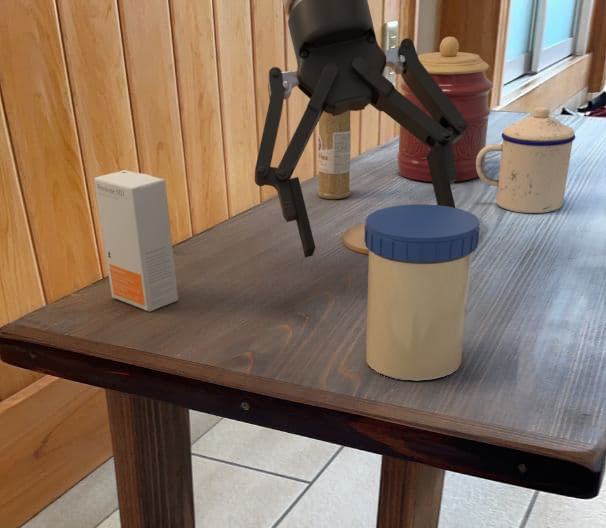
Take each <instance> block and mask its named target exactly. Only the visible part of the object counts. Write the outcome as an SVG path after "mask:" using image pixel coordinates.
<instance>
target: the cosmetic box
mask: <svg viewBox="0 0 606 528" xmlns="http://www.w3.org/2000/svg"><path fill="white" fill-rule="evenodd" d="M93 183H94V189H95V196H96V202H97V203H96V204H97V209H98V210H97V211H98V215H99V222H100V228H101V236H102V241H103V242H102V243H103V249H104V255H105V261H106V268H107V273H108V280H109V287H110V293H111V298H112V299H114V300H115V299H116V300H119V301H121V302H124V303H126V304H128V305H132V306H134V307H136V308H139V309H142V310H144V311H145V312H149V313H151V312H153V311H155V310H157V309H160V308H162V307H165V306H168V305H170V304H172V303H175V302H177V301H179V296H178V295H179V294H178V286H177V277H176V269H175V258H174V250H173V239H172V238H173V237H172V232H171V230H172V229H171V223H170V212H169V203H168V193H167V192H168V191H167V184H166V179H164V178H160V177H157V176H152V175H150V174H148V173H142V172H141V173H140V172H135V171H132V170H127V169H124V170H120V171H116V172H111V173H108V174H107V173H106V174H103V175H100V176H96V177H93Z"/></svg>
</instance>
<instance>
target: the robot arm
mask: <svg viewBox="0 0 606 528" xmlns="http://www.w3.org/2000/svg"><path fill="white" fill-rule="evenodd" d="M281 2H282V4H283V10H284V13H285V15H286V17H287V18H288V20H287V25H288V31H289V34H290V39H291V42H292V47H293V51H294V55H295V60H296V65H297V68H296V70H286V71H282V70H281V68H279V67H278V66H273V67H270V69H269V70H268V78H267V92H268V98H269V102H268V107H267V112H266V117H265V121H264V126H263V130H262V134H261V140H260V144H259V149H258V154H257V159H256V163H255V169H254V183H255V184H256V186H258V187H264V186H269V187H272V188H274V189H275V190H276V193H277V196H278V199H279V203H280V208H281V211H282V216H283V219H284V220H285V221H286V223H289V222H293V221H295V222H296V225H297V230H298V234H299V238H300V242H301V247H302V251H303V254H304V258H309V257H312V256H314V254H315V250H316V244H315V240H314V235H313V231H312V229H311V224H310V219H309V216H308V211H307V207H306V203H305V199H304V195H303V190H302V186H301V183H300V179H299V176H296V177H292V176H293V174H294V172H295V170H296V168H297V166H298V164H299V161H300V159H301V157H302V155H303V153H304V152H305V149H306V147H307V145H308V143H309V141H310V139H311V137H312V135H313V132H314V131H315V128H316V127H317V125H318V124H319V119H320V117H321V115H322V113H323V111H324V112H326V113H329V114H332V116H336V115H341V114H342V113H344V112H346V111H350V112H359V111H364V110H365V109H366V107H367V106H368V105H370V106H371V107H373V108H374V109H376V110H377V111H378V112H382V113H384V114H386V115H387V116H388V117H390V118H391V119H392V120H393V121H394V122H396V123H397V124H398V125H399V126H400V125H401V126H402V127H404V128H405V129H406V130H408V131H409V132H410V133H411V134H413V135H414V136H415V137H416V138H418V139H419V140H420V141H422V142H423V143H424V144H425V145H427V146H428V147H429V148H430V149H431V151H430V153H429V154H428V156H427V161H428V166H429V170H430V174H431V179H432V182H431V183H432V187H433V192H434V195H435V201H436V205H440V206H448V207H453V208H456V204H455V200H454V194H453V191H452V187H451V185H454V183H455V180H456V179H457V173H458V172H457V168H456V164H455V159H454V155H453V151H452V144H453V143H455V142H458V141H459V140H460V139H461V137H462V136H463V134H464V133H465V131H466V129H467V127H468V123H467V121H466V120H465V119H464V117H463V116H462V115H461V113H460V112H459V111H458V110H457V108H456V107H455V106H454V104H453V103H452V102H451V101H450V99H449V98H448V97H447V96H446V94H445V93H444V92H443V90H442V89H441V88H440V87H439V85H438V84H437V83H436V81H435V80H434V79H433V78H432V76H431V75H430V74H429V73H428V71H427V70H426V69H425V67H424V66H423V65H422V64H421V62H420V61H419V58H418V56H419V55H418V52H417V50H416V47H415V43H414V42H413V40H412V39H410V38H407V37H406V38H403V39H402V40H401V42H400V44H399V46H396V47H393V48H390V49H387V50H383V49H382V48H381V46H380V45H379V43H378V40H377V35H376V31H375V27H374V23H373V19H372V13H371V9H370V5H369V1H368V0H282V1H281ZM386 67H387V68H391V69H392V71H393V72H394V74H396V75H400V76H401V78H402V80H403V81H405V83H406V84H407V86H408V87H409V88H410V90H411V91H412V92H413V93H414V95H415V96H416V97H417V99H418V100H419V101H420V102H421V104H422V105H423V106H424V107H425V109H426V110H427V111H428V113H429V114H430V115H431V116H432V118H431V117H430V116H429V115H427V114H426V113H425V112H424V111H422V110H421V109H420V108H419V107H417V106H416V105H415V104H414V103H412V102H411V101H410V100H409V99H407V98H406V97H405V96H404V94H402V93H401V92H400V91H398V89H396V87H395V85H394V83H392V82H391V80H389V79H388V78H387V77H385V76H384V75H383V74H384V72H385V69H386ZM296 87H297V89H299V90H300V91H301V92H302V93H303V94H304V95H305V96H306V97H307V98H308V99H309V101H308V103H307V106H306V109H305V110H304V113H303V115H302V117H301V119H300V121H299V123H298V125H297V126H296V129H295V131H294V133H293V135H292V137H291V140H290V141H289V143H288V146H287V148H286V149H285V152H284V154H283V156H282V158H281V159H280V162H279V165H278V166H277V167H273V166H272V162H273V161H272V160H273V157H274V151H275V147H276V141H277V137H278V133H279V128H280V123H281V118H282V115H283V108H284V100H288V99H290V97H291V95H292V90H293V89H294V88H296Z"/></svg>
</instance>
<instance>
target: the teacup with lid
mask: <svg viewBox="0 0 606 528" xmlns="http://www.w3.org/2000/svg"><path fill="white" fill-rule="evenodd" d="M550 110H551V109H550V108H549V107H546V106H536V107H535V108H533V111H532V115H529V116H526V117H524V118H523V119H521V120H520V121H518V122H516V123H512V124H509V125H507V126H506V127H504V129H503V131H502V133H501V138H502V144H500V143H497V144H495V143H494V144H493V143H492V144H488V145H486V147H484V148H483V149H482V150H481V151H480V152H479V153H478V156H477V159H476V169H477V173H478V175H479V176H478V177H479V179H480V181H481V182H483V184H485V185H487V186H493V187H497V191H496V204H497V206H498V207H500V208H502V209H503V210H507V211H510V212H515V213H522V214H545V213H550V212H554V211H557V210H559V209H561V207H562V206H563V204H564V198H565V191H566V188H567V187H566V186H567V179H568V173H569V168H570V160H571V156H572V155H571V154H572V147H573V142H574V141H575V139H576V133H575V130H574V129H573V128H572V127H570V126H568V125H566V124H563V123H562V122H560V120H559V119H557V118H555V117H554V116H551V115H550V112H551V111H550ZM489 152H501V155H500V163H499V164H500V165H499V173H498V179H495V178H491V177H488V176H487V175H486V174H485V173H484V171H482V168H481V160H482V158H483V156H484V155H486V154H488V153H489Z"/></svg>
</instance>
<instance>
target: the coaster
mask: <svg viewBox="0 0 606 528" xmlns="http://www.w3.org/2000/svg"><path fill="white" fill-rule="evenodd" d="M365 226H366V222H365V223H359V224H357V225H354V226H351V227H349V228H348V229H346V230H345V231H344V232H343V234H342V243H343V245H344V246H345V247H347V248H348V249H349V250H351V251H354V252H357V253H360V254H365V255H367V256H369V249H368V248H367V247H366V244H365V242H364V237H365Z"/></svg>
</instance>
